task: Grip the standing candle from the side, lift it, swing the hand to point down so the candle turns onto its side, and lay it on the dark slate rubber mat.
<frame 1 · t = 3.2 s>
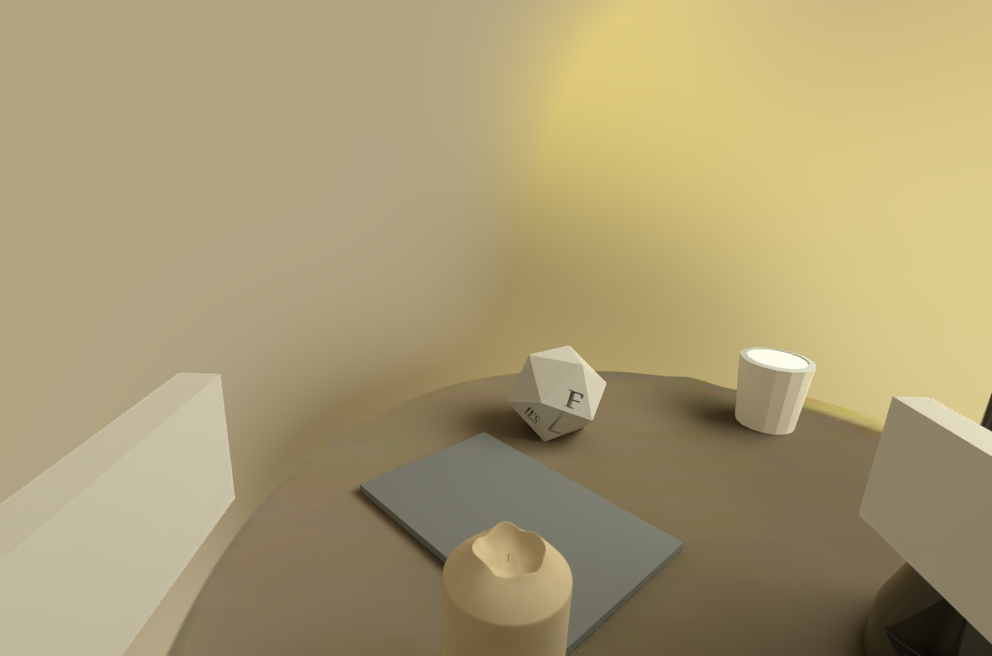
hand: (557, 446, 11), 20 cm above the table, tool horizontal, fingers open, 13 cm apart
shot glass: (763, 423, 57), on the table
die: (554, 430, 54), on the table
mat: (511, 518, 40), on the table
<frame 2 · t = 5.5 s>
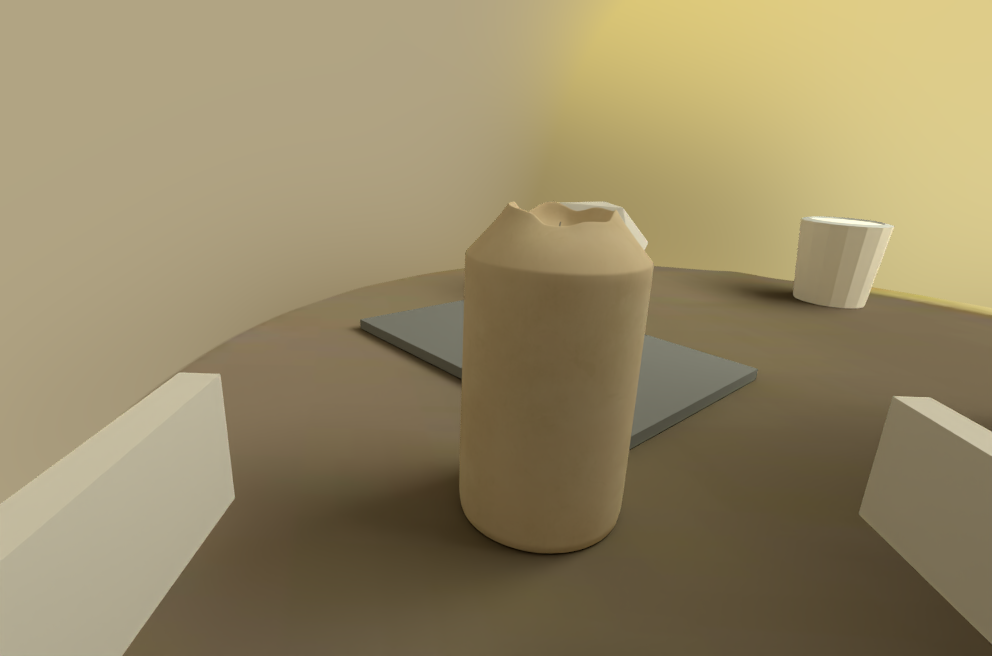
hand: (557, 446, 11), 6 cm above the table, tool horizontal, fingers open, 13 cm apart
shot glass: (827, 301, 49), on the table
die: (586, 299, 47), on the table
mat: (542, 351, 33), on the table
candle: (538, 505, 19), on the table
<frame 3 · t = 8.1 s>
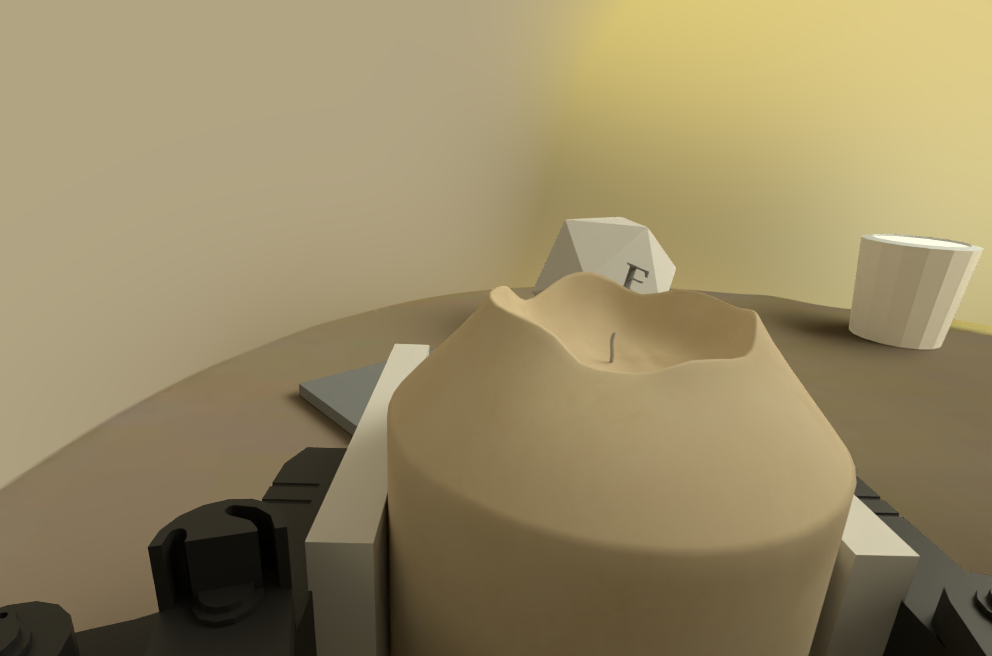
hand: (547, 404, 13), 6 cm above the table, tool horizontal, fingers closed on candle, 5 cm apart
shot glass: (892, 338, 40), on the table
die: (598, 338, 37), on the table
mat: (547, 434, 24), on the table
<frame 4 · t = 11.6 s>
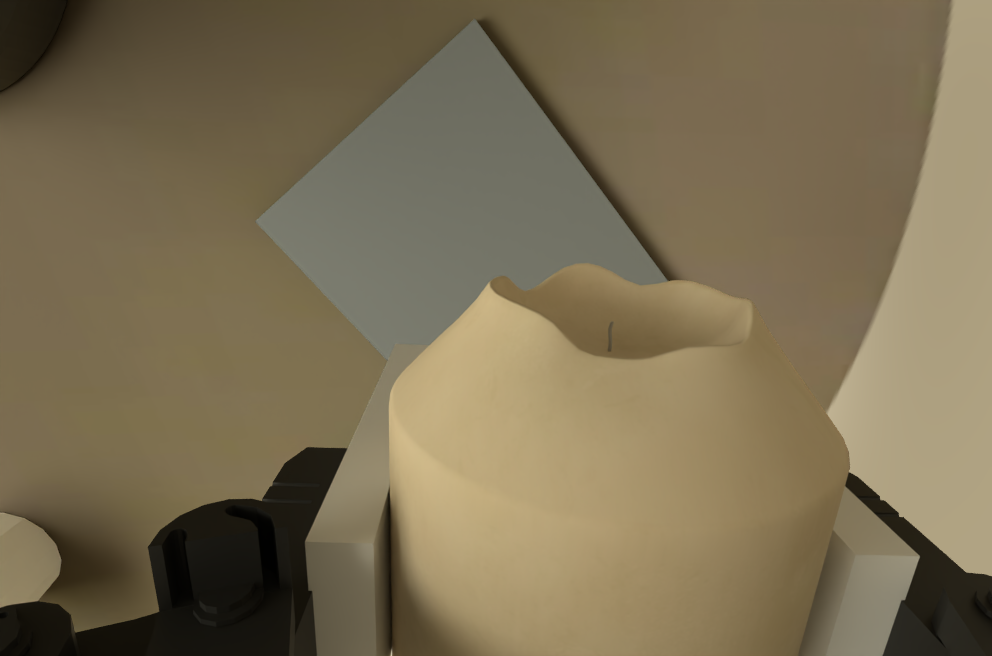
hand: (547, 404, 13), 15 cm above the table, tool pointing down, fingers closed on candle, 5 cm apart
shot glass: (12, 552, 31), on the table
mat: (504, 294, 27), on the table
when the fingers open (2 cm above the table, at t = 14.1 s): candle drops 4 cm, resting on mat.
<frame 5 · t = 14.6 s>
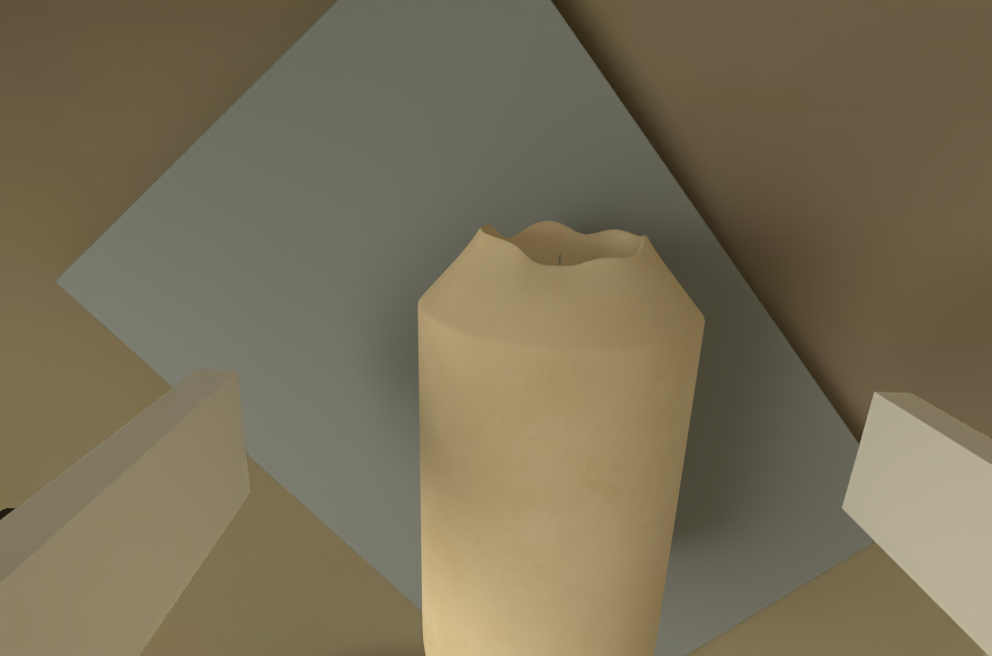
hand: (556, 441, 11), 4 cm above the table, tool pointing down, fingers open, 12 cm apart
mat: (520, 401, 15), on the table
candle: (535, 644, 14), point 3 cm above the table, touching mat
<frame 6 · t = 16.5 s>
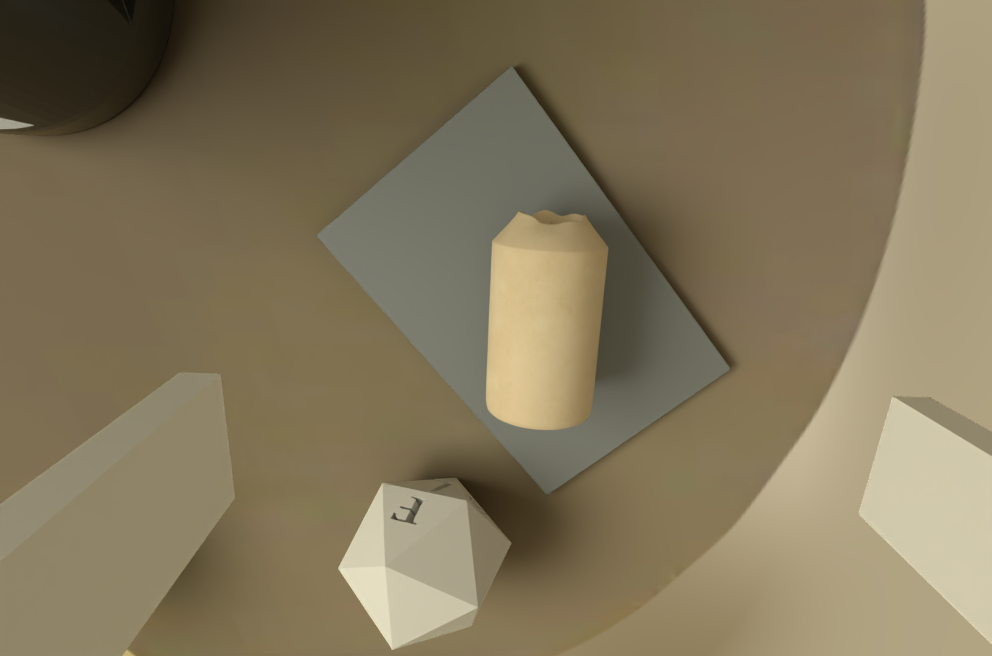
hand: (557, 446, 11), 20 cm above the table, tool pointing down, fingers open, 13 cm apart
die: (434, 511, 35), on the table
mat: (530, 302, 31), on the table
candle: (537, 410, 29), point 3 cm above the table, touching mat
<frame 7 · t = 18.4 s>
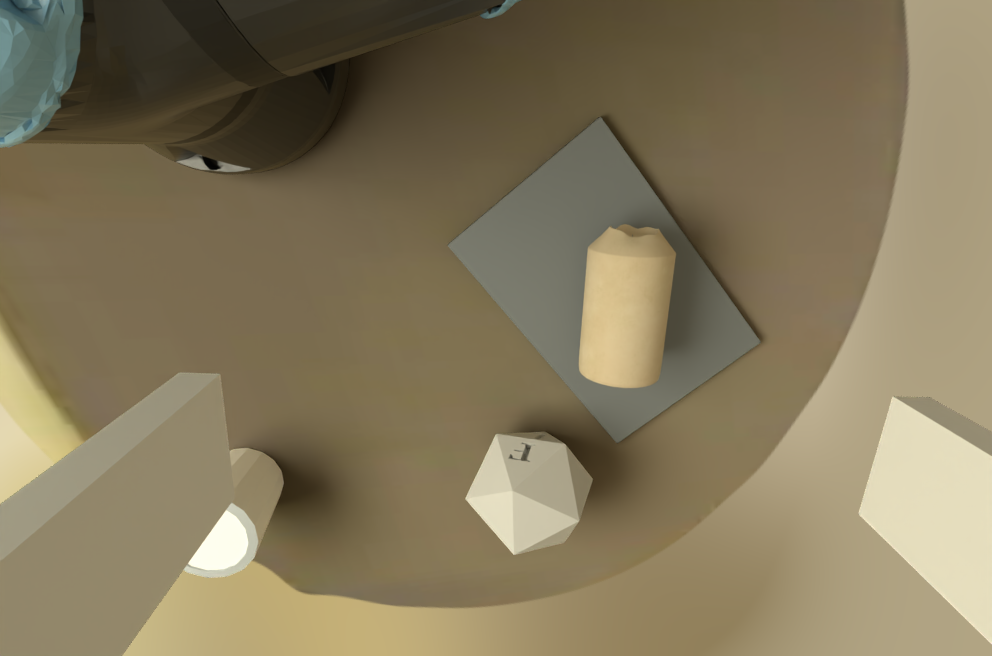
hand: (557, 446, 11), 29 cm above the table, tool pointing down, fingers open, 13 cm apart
shot glass: (249, 477, 44), on the table
die: (526, 459, 44), on the table
mat: (607, 293, 40), on the table
candle: (618, 375, 38), point 3 cm above the table, touching mat
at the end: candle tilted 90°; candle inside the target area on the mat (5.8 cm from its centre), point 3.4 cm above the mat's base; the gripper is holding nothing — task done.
